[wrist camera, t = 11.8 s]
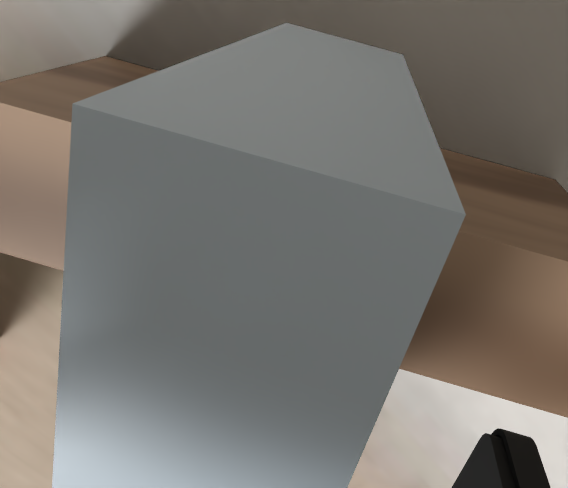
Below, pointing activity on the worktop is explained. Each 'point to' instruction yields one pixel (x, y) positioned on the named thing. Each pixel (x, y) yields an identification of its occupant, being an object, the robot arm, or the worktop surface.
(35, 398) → the worktop surface
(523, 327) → the walnut crosspiece
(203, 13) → the worktop surface
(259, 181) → the pale blue tall box
